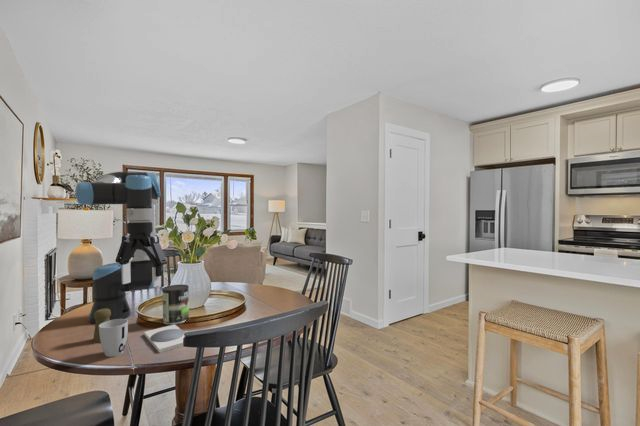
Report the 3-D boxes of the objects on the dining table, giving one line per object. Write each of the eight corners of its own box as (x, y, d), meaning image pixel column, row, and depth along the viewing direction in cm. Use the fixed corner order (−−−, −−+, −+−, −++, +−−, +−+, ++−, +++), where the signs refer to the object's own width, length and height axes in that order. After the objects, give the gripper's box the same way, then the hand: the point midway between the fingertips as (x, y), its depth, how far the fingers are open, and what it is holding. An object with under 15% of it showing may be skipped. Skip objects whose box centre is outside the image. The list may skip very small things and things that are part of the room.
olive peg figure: (91, 344, 112) (90, 313, 112) (94, 338, 117) (93, 308, 117) (112, 340, 115) (111, 310, 115) (114, 334, 120) (113, 305, 120)
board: (144, 335, 120) (144, 331, 120) (174, 327, 127) (174, 323, 127) (159, 352, 105) (159, 348, 105) (193, 343, 112) (193, 338, 112)
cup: (124, 357, 102) (123, 326, 102) (95, 360, 100) (94, 329, 100) (131, 346, 110) (131, 317, 110) (104, 349, 108) (103, 320, 107)
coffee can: (194, 316, 139) (193, 284, 139) (179, 325, 129) (178, 290, 129) (173, 315, 141) (172, 283, 141) (157, 324, 131) (156, 289, 131)
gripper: (102, 222, 108) (103, 284, 108) (159, 222, 99) (161, 290, 100) (122, 220, 115) (124, 279, 115) (177, 221, 106) (179, 284, 107)
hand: (141, 284), depth 107 cm, fingers open, 13 cm apart
